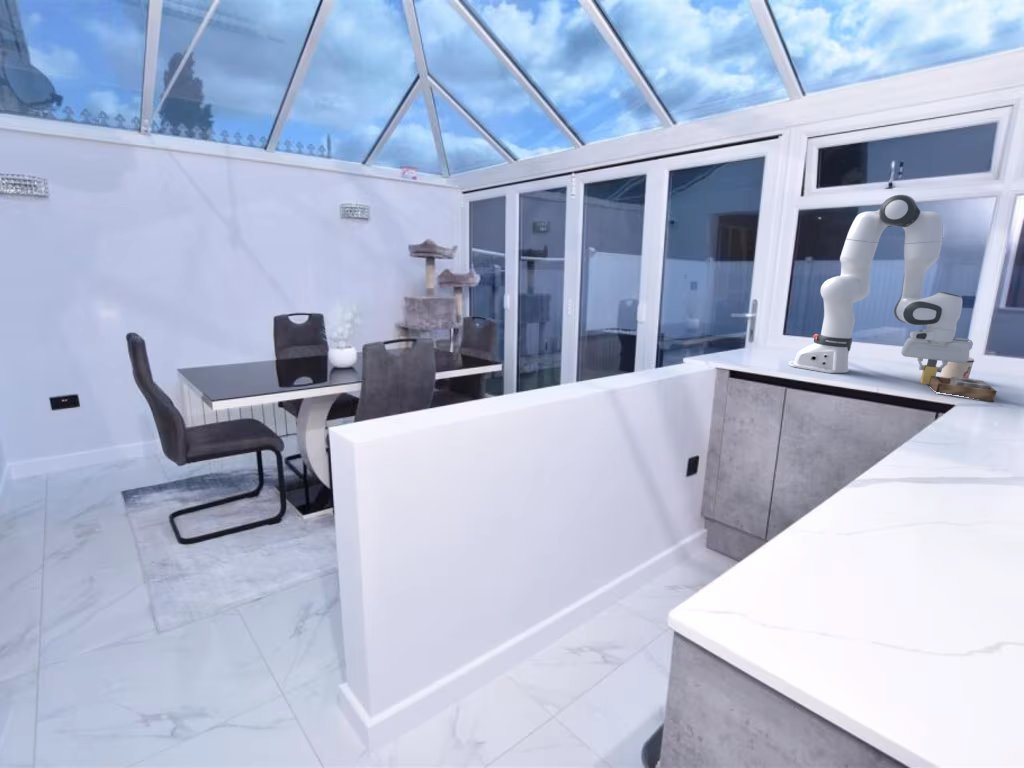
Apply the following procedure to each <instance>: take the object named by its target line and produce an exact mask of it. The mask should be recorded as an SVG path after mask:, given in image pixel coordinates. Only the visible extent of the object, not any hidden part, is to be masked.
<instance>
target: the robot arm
mask: <svg viewBox="0 0 1024 768" xmlns="http://www.w3.org/2000/svg"><path fill="white" fill-rule="evenodd" d="M888 227H901V228H902V229H903V230H904V235H905V236H904V244H903V259H904V260H903V261H904V267H903V268H904V274H903V281H902V288H901V295H900V298H899V299H898V301H897V302H896V304H895V307H894V309H893V315H894V316H895V318H896V319H897V320H898V321H899V322H901V323H904V324H908V325H911V326H922V325H924V326H925V325H926V327H925V329H920V330H912V331H910V332H909V337H908V338H907V339H906V340H905V341H904V344H903V346H902V349H901V355H902V356H903V357H905V358H907V357H908V358H914V359H915V358H916V359H917V363H918V365H919V366H918V370H919V371H923V370H924V368H925V365H926V364H923V363H922V362H924V359H925V360H928V359H931V360H937V361H941V363H942V364H941V365H940V366H936V367H937V368H938V369H937V373H942V370H943V368H944V367H945V366H946V365H947V364H948V362H956V363H966V362H967V361H968V359H969V357H970V351H971V350H972V348H973V345H974V343H973V341H972V340H971V339H969V338H962V337H956V332H957V328H958V327H957V323H958V321H959V320H960V317H961V313H962V309H963V298H962V297H961V296H960V295H958V294H955V293H949V292H945V291H940V292H937V293H935V294H933V295H931V296H927V297H922V294H923V287H924V279H925V275H926V273H927V271H928V270H929V269H930V267H931V266H932V265H933V264H935V263H937V261H938V259H939V258H940V255H941V252H942V245H943V232H944V231H943V221H942V217H941V215H940V213H939V212H935V211H931V210H925V211H922V210H920V209H919V207H918V205H917V202H916V200H915V199H914V198H913V197H912V196H910V195H906V194H897V195H896V194H895V195H893V196H890V197H889V198H887V199H886V200H885V201H884V202H883V203H882V204H881V206H880V207H879V209H878V210H875V211H873V210H871V211H870V210H869V211H862V212H861V213H858V214H857V215H856V216H855V218H854V219H853V221H852V224H851V225H850V227H849V230H848V231H847V235H846V238H845V241H844V245H843V247H842V250H841V254H840V256H839V262H840V275H836V276H833V277H831V278H828V279H826V280H825V281H824V282H823V283H822V285H821V286H820V295H821V297H822V300H823V310H824V312H823V321H822V327H821V332H820V334H818V333H815V334H813V343H810V344H808V345H807V346H804V347H802V348H800V349H799V350H798V351H797V353H796V355H795V358H794V359H790V360H788V365H789V366H790V367H793V368H798V369H802V370H803V369H804V370H810V371H816V372H821V373H829V374H835V373H838V374H839V373H843V374H844V373H849V370H850V369H849V354H850V351H851V348H852V344H853V338H852V337H853V331H854V327H855V324H856V318H855V313H854V303H857V302H858V303H859V302H860V301H862V300H864V299H865V298H867V297H868V295H870V293H871V289H872V288H871V287H872V286H871V283H870V279H871V270H872V263H873V260H874V257H875V254H876V251H877V248H878V245H879V242H880V238H881V235H882V234H883V232H884V230H885V229H886V228H888Z"/></svg>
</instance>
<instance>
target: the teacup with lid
mask: <svg viewBox="0 0 1024 768" xmlns="http://www.w3.org/2000/svg"><path fill="white" fill-rule="evenodd" d="M974 362H975V359H974V358H972V357H970V356H969V359H968V361H967V362H966V363H956V362H948V364H947V365H946V366H945V367H944V368H942V372H941V374H940V377H945V378H951V377H957V378H965V379H970V374H971V371H972V367H973V365H974Z"/></svg>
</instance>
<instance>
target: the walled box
mask: <svg viewBox="0 0 1024 768" xmlns="http://www.w3.org/2000/svg"><path fill="white" fill-rule="evenodd" d="M929 386H930V387H931V388H932V389H933V390H934V391H936V392H940V393H946V394H952V395H959V396H964V397H969V398H974V399H979V400H978V401H981V400H983V401H982V402H989V403H994V402H995V398H996V395H997V392H998V391H997V390H996V389H995V388H993V387H992V386H991V385H989V384H988V383H987V382H986V381H984V380H980V379H979V380H978V379H972V378H971V379H970V378H968V379H965V378H957V377H951V378H945V377H941V376H937V375H936V376H931V378H930V382H929ZM929 386H928V387H929ZM930 387H929V388H930ZM931 388H930V389H931ZM932 389H931V390H932ZM933 390H932V391H933ZM934 391H933V392H934ZM974 399H973V400H974Z"/></svg>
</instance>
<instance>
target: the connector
mask: <svg viewBox="0 0 1024 768" xmlns="http://www.w3.org/2000/svg"><path fill="white" fill-rule="evenodd" d="M937 363H938V360H931V359H927V363H926V364H924V365H925V368H924V370H922V372H921V377H920V380H919V383H920V382H921V383H922V384H921V383H920V384H921V385H926V384H929V382H930V378H931V376H937V373H938V372H937V369H938V368H937V367H938V366H937Z"/></svg>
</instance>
